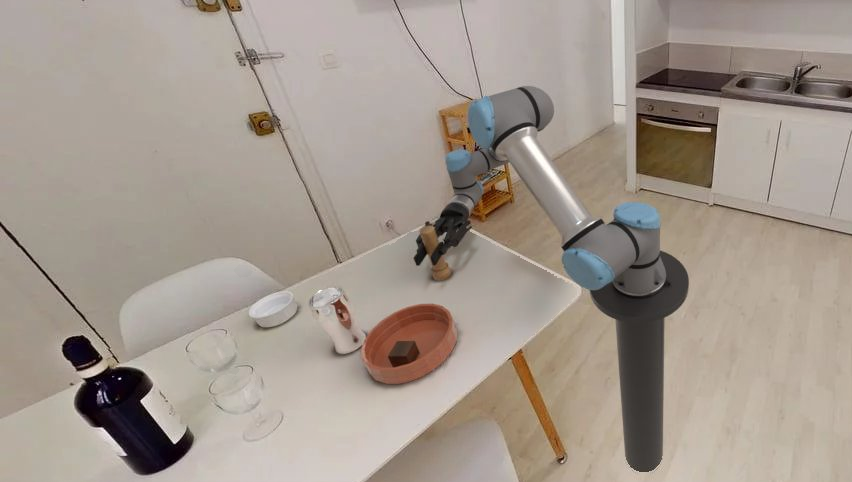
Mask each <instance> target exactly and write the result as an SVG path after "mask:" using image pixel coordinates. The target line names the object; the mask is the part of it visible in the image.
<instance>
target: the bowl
mask: <svg viewBox="0 0 852 482" xmlns="http://www.w3.org/2000/svg"><path fill="white" fill-rule="evenodd" d="M457 339H458V330H457V327H456V324H455V321H454V318H453V315H452V314H451V312H450V310H449V309H447V308H446V307H444V306H443V305H440V304H436V303H418V304H414V305H409V306H406V307H404V308H402V309H399V310H397V311H394V312H393V313H391V314H390V315H388V316H386V317H385V318H383V319H382V320H381V321H380V322H378V323H377V324H376V325H375V326H373V328H372V329H371V330H370V331H369V333H368V334H367V336H366V339H365V340H364V342H363V344H362V346H361V348H360V354H361V360H362V362H363V364H364V366H365V369H367V372H368V373H369V375H370V376H371V377H372V378H373V379H374V380H375V381H377V382H380V383H383V384H386V385H395V384H396V385H399V384H404V383H409V382H412V381H416V380H417V379H420V378H422V377H424V376H426V375H428V374H429V373H431V372H433V371H434V370H435V369H436V368H438V367H439V366H440V365H442V363H444V361H445V360H446V359H447V358H448V357H449V356H450V354H451V353H452V351H453V349H454V347H455V345H456V343H457ZM397 341H415V343H416V345H417V347H418V350H419V352H420V353H419V355H418V357H417V359H416V360H415V361H414V362H412V363H410V364H406V365H402V366H398V367H392V365H391V362H390V360H389V358H388V355H389V353H390V351H391V350H392V348H393V347H394V345H395V343H396V342H397Z"/></svg>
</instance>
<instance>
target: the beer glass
mask: <svg viewBox="0 0 852 482" xmlns="http://www.w3.org/2000/svg"><path fill="white" fill-rule="evenodd" d="M307 306H308V307H309V310H310V313H311V315H312V317H313V319H314V320H315V322H316V323H317V325H318V326H319V327H320V328H321V330H323V332H325V333H326V334H327V336H329V337H330V338H331V340H332V342H333V345H334V349H335V352H336V353H338V354H340V355H346V354H350V353H352V352H355V351H356V350H358V349H359V348H361V347H362V346H363V342H364V340H365V339H366V337H367V336H366V334H365V332H364V331H363V330H362V329H361V328H360V327H359V324H358V321H357V316H356V310H355V307H354V305H353V303H352V300H351V299H350V297H349V296H348V294H347V292H346V291H345V289H344V287H342V286H339V285H332V286H328V287H325V288H322V289H320V290H318V291H317V292H315V293H314V294H312V295H311V296H310V297H309V299H308V300H307Z"/></svg>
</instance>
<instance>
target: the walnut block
mask: <svg viewBox="0 0 852 482" xmlns="http://www.w3.org/2000/svg"><path fill="white" fill-rule="evenodd" d="M419 353H420V352H419V350H418V347H417V345H416V343H415V341H397V342H396V343H395V345H394V347H393V348H392V350H391V351H390V353H389V355H388V358H389V360H390V362H391V365H392V367H398V366H402V365H406V364H410V363H412V362H414V361H415V360H416V359H417V357H418V355H419Z"/></svg>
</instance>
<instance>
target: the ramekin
mask: <svg viewBox="0 0 852 482" xmlns="http://www.w3.org/2000/svg"><path fill="white" fill-rule="evenodd" d="M297 310H298V304H297V302H296V300H295V297H294V293H293V292H291V291H287V290H282V291H281V290H280V291H277V292H273V293H271V294H270V293H269V294H268V295H266V296H263V297H262V298H260V299H259V300H257V301H256V302H254V303H253V304H252V306H251V307H250V308H249V310H248V312H247V314H248V316H249V317H250V318H251V319H252V320H254V321H255V322H256V323H257V324H258V326H260V327H262V328H273V327H276V326H279V325H281V324H284V323H285V322H287V321H289V320H290V319H291V318H293V316H294V315H295V314H296V313H297V312H298V311H297Z"/></svg>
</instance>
